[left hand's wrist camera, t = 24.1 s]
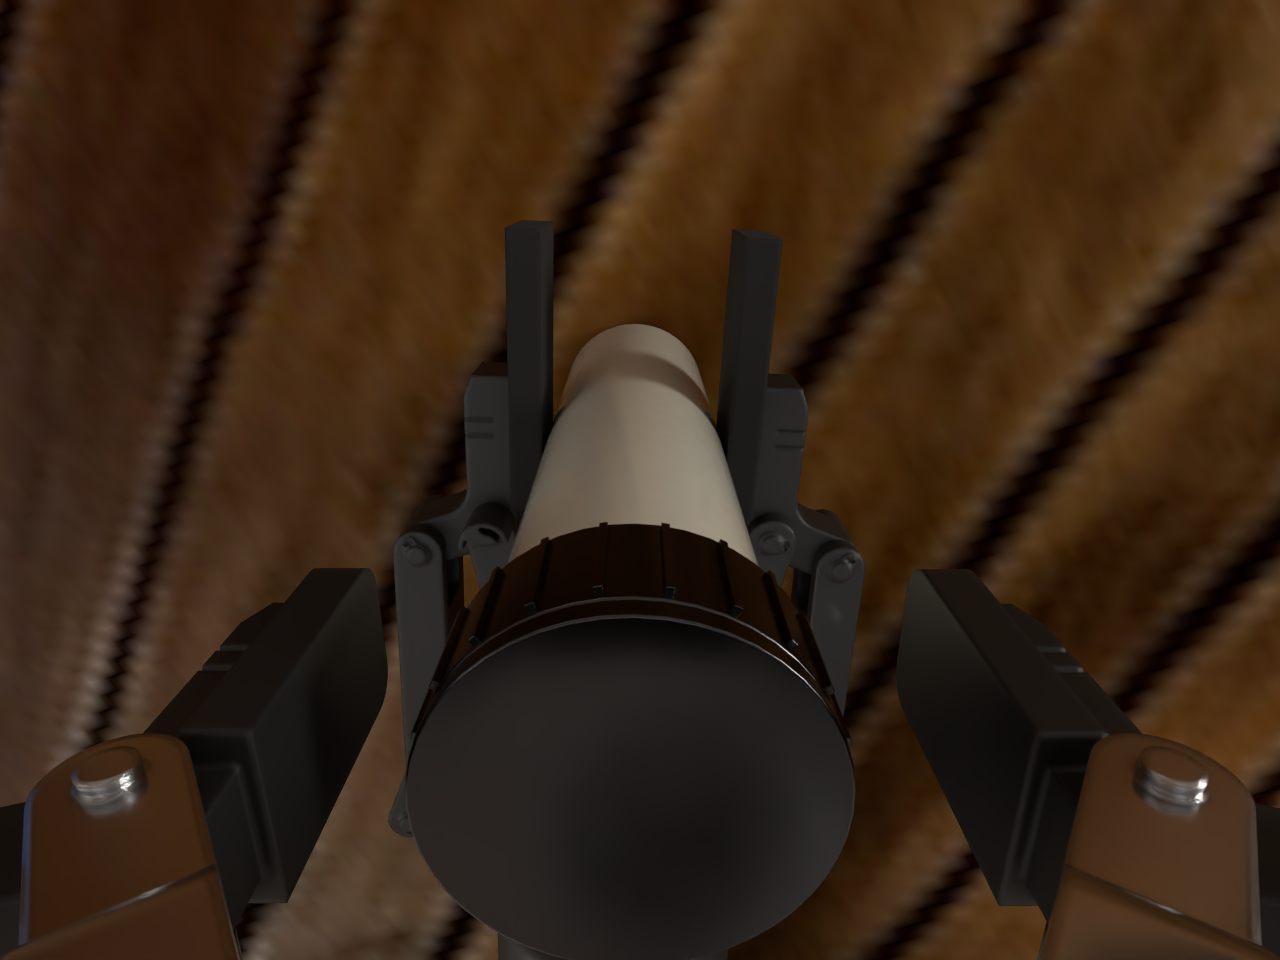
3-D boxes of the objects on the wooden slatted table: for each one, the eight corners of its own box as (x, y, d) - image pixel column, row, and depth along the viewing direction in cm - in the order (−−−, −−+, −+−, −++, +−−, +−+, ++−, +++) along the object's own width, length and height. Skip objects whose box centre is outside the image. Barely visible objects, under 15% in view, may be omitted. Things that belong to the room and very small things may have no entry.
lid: (801, 832, 12) (836, 974, 10) (456, 828, 12) (417, 970, 10) (839, 520, 10) (892, 614, 8) (428, 513, 10) (373, 606, 8)
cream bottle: (672, 302, 25) (739, 555, 9) (720, 425, 26) (854, 838, 10) (545, 354, 25) (384, 683, 9) (599, 472, 27) (542, 931, 11)
